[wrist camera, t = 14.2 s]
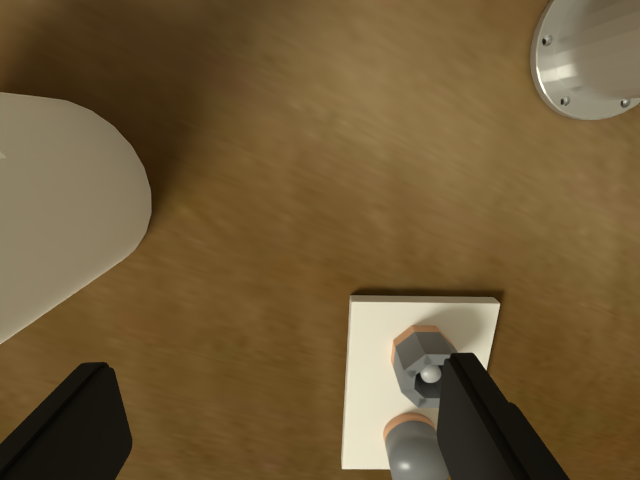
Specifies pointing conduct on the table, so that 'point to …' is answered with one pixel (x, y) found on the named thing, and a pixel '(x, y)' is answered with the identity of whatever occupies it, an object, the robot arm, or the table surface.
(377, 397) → the pin board
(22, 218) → the cylinder
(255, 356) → the table surface
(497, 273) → the table surface
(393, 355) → the sleeve
